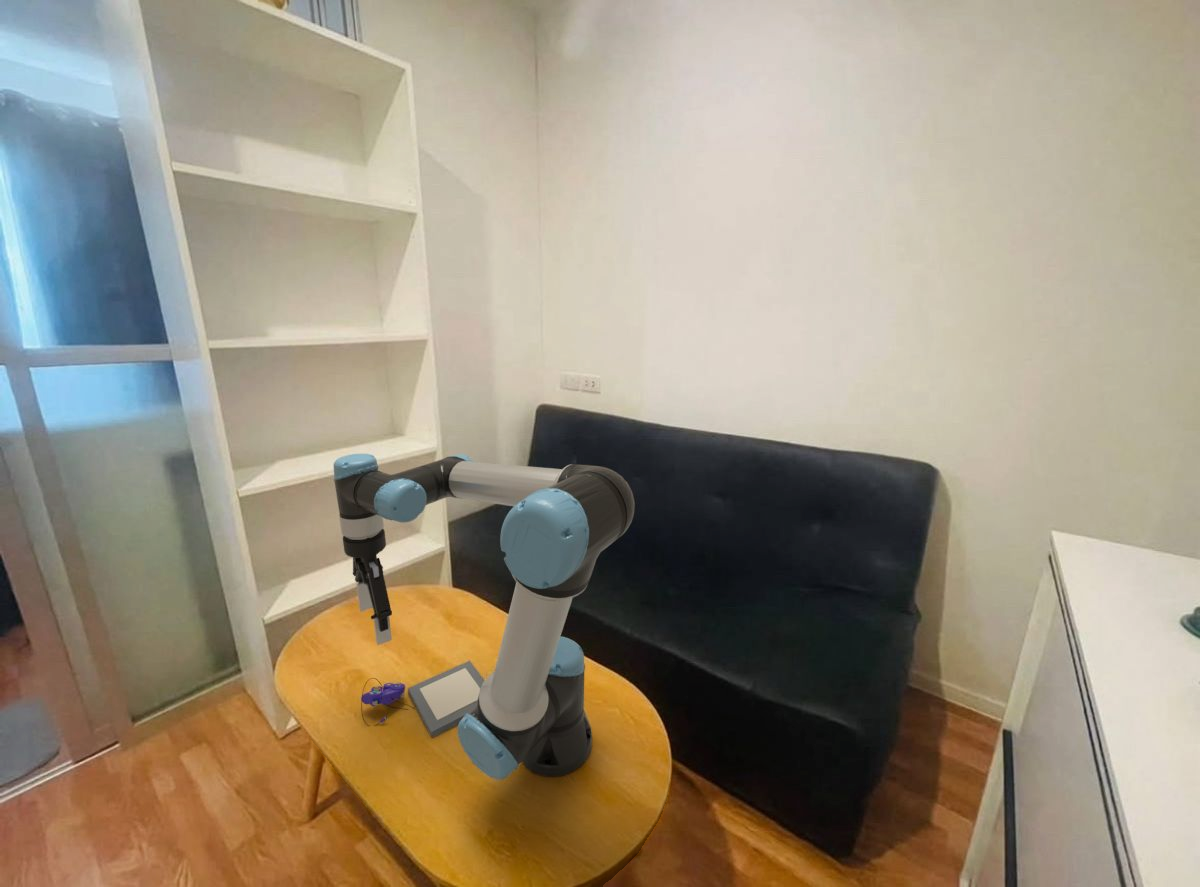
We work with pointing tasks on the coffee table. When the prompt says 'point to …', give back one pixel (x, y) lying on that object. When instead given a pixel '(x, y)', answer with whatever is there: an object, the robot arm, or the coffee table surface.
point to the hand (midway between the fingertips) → (375, 624)
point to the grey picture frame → (447, 697)
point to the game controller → (383, 695)
